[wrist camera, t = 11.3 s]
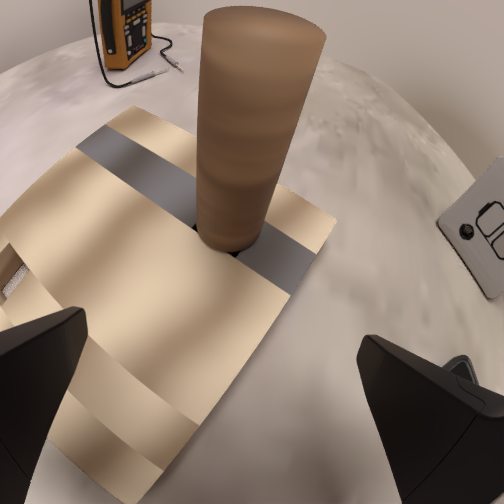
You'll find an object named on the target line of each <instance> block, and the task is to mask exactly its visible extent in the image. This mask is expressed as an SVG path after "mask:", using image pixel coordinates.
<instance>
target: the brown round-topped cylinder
mask: <svg viewBox="0 0 504 504" xmlns="http://www.w3.org/2000/svg"><path fill="white" fill-rule="evenodd" d="M325 40H326V35H325V33H324V32H323V30H322V29H320V28H319V27H318V26H316V25H315V24H313V23H311V22H310V21H308V20H306V19H303V18H301V17H299V16H296V15H293V14H290V13H287V12H283V11H279V10H275V9H270V8H263V7H254V6H230V7H223V8H218V9H214V10H212V11H210V12H208V13H207V14H206V15H205V16H204V23H203V34H202V46H201V60H200V76H199V95H198V119H197V156H196V226H197V230H198V233H199V235H200V237H201V238H202V239H203V241H204V242H205V243H207V244H208V245H209V246H211V247H212V248H215V249H217V250H220V251H225V252H227V253H228V254H230V255H231V256H233V255H235V254H236V252H237V251H240V250H243V249H246V248H248V247H249V246H251V245H252V244H253V243H254V242H255V241H256V240H257V238H258V237H259V235H260V232H261V229H262V226H263V223H264V220H265V217H266V214H267V211H268V208H269V205H270V202H271V199H272V196H273V193H274V191H275V188H276V185H277V182H278V179H279V176H280V173H281V170H282V167H283V164H284V161H285V158H286V155H287V152H288V149H289V146H290V143H291V141H292V138H293V135H294V132H295V129H296V126H297V123H298V120H299V117H300V114H301V111H302V108H303V105H304V102H305V99H306V96H307V93H308V90H309V88H310V85H311V82H312V79H313V76H314V73H315V70H316V67H317V64H318V61H319V58H320V55H321V52H322V49H323V46H324V43H325Z"/></svg>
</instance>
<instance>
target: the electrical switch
mask: <svg viewBox="0 0 504 504" xmlns="http://www.w3.org/2000/svg"><path fill="white" fill-rule="evenodd" d="M438 224H439V227H440V228H441V230H442V231H443V232H444V233H445V235H446V236H447V238H448V239H449V240H450V242H451V243H452V244H453V246H454V247H455V249H456V250H457V251H458V253H459V254H460V256H461V257H462V259H463V260H464V261H465V263H466V264H467V266H468V267H469V269H470V270H471V272H472V273H473V275H474V277H475V278H476V280H477V281H478V283H479V284H480V286H481V288H482V289H483V291H484V293H485V294H486V296H487V297H488V298H496V297H497V296H499V295H500V294H501V293H503V292H504V156H498V157H497V158H496V159H495V160H494V161H493V162H492V163H491V165H489V168H488V169H487V170H486V171H485V172H484V173H483V174H482V175H481V176H480V177H479V178H478V179H477V180H476V181H475V182H474V183H473V185H472V186H471V187H470V188H469V189H468V190H467V191H466V192H465V193H464V194H463V195H462V196H461V197H460V198H459V199H458V200H457V201H456V202H455V203H454V204H453V205H452V206H451V207H449V208H448V209H447V210H446V211H445V212H444V213H443V214H442V215H441V216H440V217H439V221H438ZM465 225H467V226H470V227H471V229H472V231H473V232H471V233H468V234H467V232H466V231H465V230H464V228H465Z"/></svg>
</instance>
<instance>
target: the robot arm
mask: <svg viewBox="0 0 504 504" xmlns="http://www.w3.org/2000/svg"><path fill="white" fill-rule="evenodd" d="M87 337H88V326H87V319H86V312H85V310H84V308H81V307H76V306H71V307H69V308H66V309H63V310H60V311H57V312H54V313H51V314H49V315H46V316H43V317H40V318H37V319H34V320H32V321H29V322H26V323H23V324H20V325H17V326H15V327H12V328H9V329H6V330H3V331H1V332H0V504H24V502H25V499H26V496H27V492H28V489H29V486H30V483H31V482H30V481H31V479H32V476H33V473H34V470H35V467H36V465H37V462H38V459H39V456H40V454H41V451H42V448H43V446H44V443H45V440H46V438H47V435H48V433H49V430H50V428H51V425H52V423H53V421H54V418H55V416H56V414H57V411H58V409H59V407H60V404H61V402H62V400H63V398H64V395H65V393H66V391H67V389H68V387H69V385H70V382H71V380H72V378H73V376H74V373H75V371H76V368H77V365H78V362H79V359H80V357H81V354H82V351H83V348H84V346H85V343H86V340H87ZM356 360H357V365H358V369H359V373H360V377H361V380H362V384H363V388H364V392H365V396H366V399H367V402H368V405H369V407H370V410H371V413H372V416H373V418H374V421H375V424H376V427H377V429H378V432H379V435H380V438H381V441H382V444H383V446H384V449H385V452H386V455H387V458H388V461H389V464H390V467H391V470H392V473H393V476H394V479H395V482H396V486H397V489H398V492H399V495H400V498H401V501H402V504H504V396H503V395H500V394H498V393H495V392H493V391H490V390H488V389H486V388H483V387H481V386H479V385H476V384H474V383H472V382H470V381H468V380H466V379H463V378H461V377H459V376H457V375H455V374H453V373H451V372H449V371H447V370H445V369H443V368H441V367H439V366H437V365H435V364H433V363H431V362H429V361H427V360H425V359H423V358H421V357H419V356H417V355H415V354H413V353H411V352H409V351H407V350H405V349H403V348H401V347H399V346H397V345H396V344H394V343H392V342H390V341H388V340H386V339H384V338H382V337H380V336H378V335H365V336H364V338H363V340H362V342H361V345H360V348H359V351H358V354H357V359H356Z"/></svg>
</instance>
